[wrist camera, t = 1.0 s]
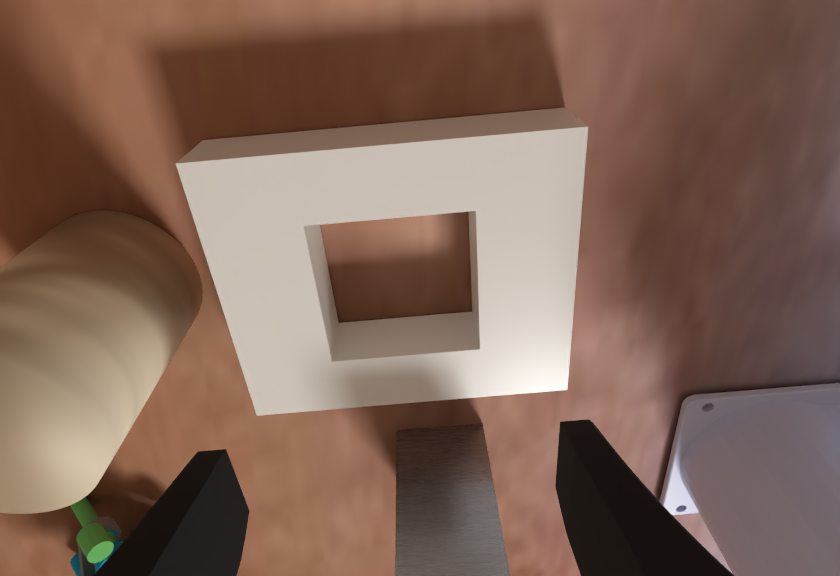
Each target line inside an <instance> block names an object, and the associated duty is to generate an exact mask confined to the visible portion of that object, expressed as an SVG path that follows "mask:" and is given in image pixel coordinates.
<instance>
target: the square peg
mask: <svg viewBox="0 0 840 576" xmlns="http://www.w3.org/2000/svg"><path fill="white" fill-rule="evenodd" d="M395 576H510V573H509V568H508V562H507V556H506V551H505V545H504V540H503V534H502V529H501V523H500V518H499V512H498V506H497V501H496V495H495V490H494V484H493V479H492V473H491V468H490V462H489V457H488V451H487V445H486V440H485V434H484V429H483V424H472V425H460V426H447V427H435V428H423V429H410V430H398V431H397V450H396V555H395Z"/></svg>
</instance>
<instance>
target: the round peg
mask: <svg viewBox="0 0 840 576" xmlns="http://www.w3.org/2000/svg"><path fill="white" fill-rule="evenodd" d="M202 294H203V291H202V282H201V279H200V275H199V272H198V270H197V267H196V265H195V264H194V262H193V260H192V258H191V257H190V255H189V254H188V253H187V251H186V250H185V249H184V248H183V247H182V246H181V245H180V243H179V242H178V241H177V240H175V239H174V238H173V237H172V236H171V235H170V234H168V233H167V232H165V231H164V230H163V229H161V228H160V227H158V226H156V225H154V224H153V223H151V222H149V221H147V220H144V219H142V218H140V217H137V216H134V215H131V214H127V213H122V212H118V211H108V210H94V211H88V212H82V213H79V214H76V215H73V216H71V217H69V218H67V219H65V220H64V221H62V222H61V223H59V224H58V225H57V226H55V227H54V228H53V229H51V230H50V231H48V232H47V233H46V234H44V235H43V236H42V237H40V238H39V239H38V240H36V241H35V242H34V243H32V244H31V245H30V246H28V247H27V248H26V249H24V250H23V251H22V252H20V253H19V254H18V255H16V256H15V257H13V258H12V259H11V260H9V261H8V262H7V263H5V264H4V265H3V266H1V267H0V512H1V513H14V514H30V513H42V512H49V511H53V510H57V509H61V508H64V507H67V506H70V505H72V504H74V503H76V502H78V501H80V500H81V499H83V498H84V497H86V496H87V495H88V494H89V493H90V492H91V491H92V490H93V489H94V488H95V487H96V486H97V484H98V483H99V481H100V479H101V478H102V476H103V474H104V473H105V471H106V469H107V468H108V466H109V464H110V462H111V461H112V459H113V457H114V456H115V454H116V452H117V451H118V449H119V447H120V445H121V444H122V442H123V440H124V439H125V437H126V435H127V434H128V432H129V430H130V428H131V427H132V425H133V423H134V422H135V420H136V418H137V417H138V415H139V413H140V411H141V410H142V408H143V406H144V405H145V403H146V401H147V400H148V398H149V396H150V394H151V393H152V391H153V389H154V388H155V386H156V384H157V383H158V381H159V379H160V377H161V376H162V374H163V372H164V371H165V369H166V367H167V366H168V364H169V362H170V361H171V359H172V357H173V355H174V354H175V352H176V350H177V349H178V347H179V345H180V344H181V342H182V340H183V338H184V337H185V335H186V333H187V332H188V330H189V328H190V327H191V325H192V323H193V321H194V320H195V318H196V316H197V315H198V312H199V310H200V307H201V303H202Z"/></svg>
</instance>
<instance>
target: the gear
mask: <svg viewBox="0 0 840 576" xmlns="http://www.w3.org/2000/svg"><path fill="white" fill-rule="evenodd" d="M70 507H71V509H72V510H73V512H74V514H75V515H76V517H77V519H78V520H79V522H80V524H81V526H82V527H83V528H82V529H81V530H80V531H79V533H78V534H77V537H76V540H77V545H78V553H77V554H76V555H75V556H74V557H73V558H72V559H71V566H72V568H73V570H74V571H75V573H76V575H77V576H93V575H94V574H95V573H96V572H97V571H98V569H99V568H100V567H101V566H102V565H103V564H104V563H105V562H106V561H107V560H108V558H109V557H110V556H111V555H112V554H113V553H114V552H115V551H116V550H117V548H118V547H119V546H120V545H121V544H122V543H123V541H120V537H121V529H120V528H119V526H118V525H117V523H116V522H115V520H114V519H113V518H112V517H109V516H103V517H99V516H98V515H97V513H96V512H95V510H94V508H93V507H92V505H91V504H90V502H89V500H88V499H87V498H86V497H84V498H83V499H81V500H80V501H78V502H76V503H74V504H72V505H70Z"/></svg>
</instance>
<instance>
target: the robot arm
mask: <svg viewBox="0 0 840 576" xmlns="http://www.w3.org/2000/svg"><path fill="white" fill-rule="evenodd" d="M705 404H706V405H705ZM556 490H557V495H558V499H559V503H560V508H561V512H562V516H563V520H564V525H565V529H566V533H567V536H568V539H569V542H570V545H571V548H572V551H573V553H574V556H575V559H576V562H577V565H578V568H579V571H580V574H581V576H840V383H831V384H819V385H807V386H795V387H783V388H770V389H758V390H746V391H734V392H722V393H710V394H698V395H691V396H689V397H687V398H686V399H685V400H684V401H683V403H682V406H681V410H680V415H679V419H678V424H677V428H676V432H675V437H674V441H673V445H672V450H671V454H670V459H669V463H668V467H667V472H666V476H665V480H664V485H663V489H662V493H661V498H660V502H659V501H658V500H657V498H656V497H655V496H654V495H653V494H652V493H651V492H650V491H649V490H648V489H647V487H646V486H645V485H644V484H643V483H642V482H641V481H640V480H639V478H638V477H637V476H636V475H635V474H634V473H633V472H632V470H631V469H630V468H629V467H628V466H627V464H626V463H625V462H624V461H623V460H622V458H621V457H620V456H619V455H618V454H617V452H616V451H615V450H614V449H613V447H612V446H611V445H610V444H609V442H608V441H607V440H606V439H605V437H604V436H603V435H602V434H601V432H600V431H599V430H598V428H597V427H596V426H595V425H594V423H593V422H591V421H590V420H578V421H565V422H560V433H559V446H558V460H557V474H556ZM690 513H700V515H701V517H702V518H703V520H704V522H705V524H706V526H707V528H708V529H709V531H710V533H711V535H712V537H713V538H714V540H715V542H716V544H717V546H718V547H719V549H720V551H721V553H722V555H723V556H724V558H725V560H726V562H727V564H728V566H729V567H730V569H731V571H732V573H733V574H732V573H731V572H730V571H728V570H727V569H726V568H725V567H724V566H723V565H722V564H721V563H720V562H719V561H718V560H717V559H716V558H714V557H713V556H712V555H711V554H710V553H709V552H708V551H707V550H706V549H705V548H704V547H703V546H702V545H701V544H700V543H699V542H698V541H697V540H696V539H695V538H694V537H693V536H692V535H691V534H690V533H689V532H688V531H687V530H686V529H685V528H684V527H683V526H682V525H681V524H680V523H679V522H678V521H677V520H676V519H675V518H674V517H673V516H672V515H678V514H690ZM248 515H249V509H248V506H247V504H246V501H245V498H244V496H243V493H242V490H241V488H240V485H239V483H238V480H237V477H236V475H235V472H234V469H233V467H232V464H231V461H230V459H229V456H228V454H227V451H226V449H225V450H212V451H200V452H197V453H196V455H195V456H194V457H193V458H192V459H191V461H190V462H189V463H188V464H187V465H186V466H185V468H184V469H183V470H182V471H181V473H180V474H179V475H178V476H177V478H176V479H175V480H174V481H173V482H172V484H171V485H170V486H169V487H168V489H167V490H166V491H165V492H164V494H163V495H162V496H161V497H160V498H159V500H158V501H157V502H156V503H155V505H154V506H153V507H152V508H151V509H150V511H149V512H148V513H147V514H146V515H145V517H144V518H143V519H142V520H141V521H140V523H139V524H138V525H137V526H136V527H135V528H134V530H133V531H132V532H131V533H130V534H129V536H128V537H127V538H126V539H125V540H124V541H123V543H122V544H121V545H120V546H119V547H118V548H117V550H116V551H115V552H114V553H113V554H112V555H111V556H110V557H109V558H108V560H107V561H106V562H105V563H104V564H103V565H102V566H101V567H100V568H99V569H98V571H97V572H96V573H95V574H94V575H93V576H236V575H237V572H238V568H239V565H240V561H241V557H242V551H243V546H244V540H245V535H246V528H247V522H248Z"/></svg>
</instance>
